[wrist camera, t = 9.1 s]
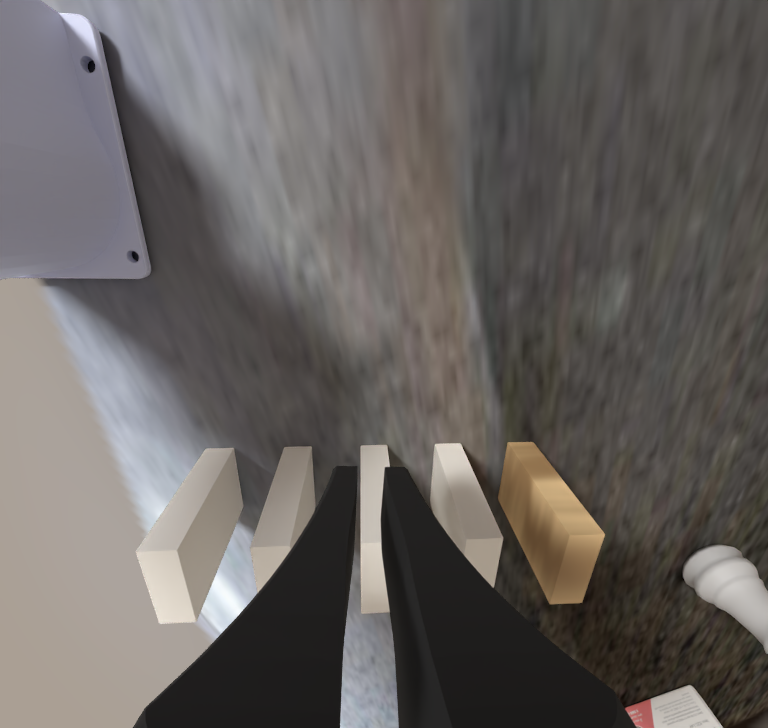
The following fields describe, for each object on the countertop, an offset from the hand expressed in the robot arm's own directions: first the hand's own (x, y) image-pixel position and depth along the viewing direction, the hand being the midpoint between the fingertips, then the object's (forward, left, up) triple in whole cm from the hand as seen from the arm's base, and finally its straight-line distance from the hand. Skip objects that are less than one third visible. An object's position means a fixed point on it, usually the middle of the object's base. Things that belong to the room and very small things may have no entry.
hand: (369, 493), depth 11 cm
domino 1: (+7, -8, -9) cm, 15 cm away
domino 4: (+7, +5, -9) cm, 13 cm away
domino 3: (+7, 0, -9) cm, 12 cm away
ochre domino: (+7, +10, -9) cm, 15 cm away
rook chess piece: (+16, +26, -10) cm, 32 cm away
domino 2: (+7, -4, -9) cm, 12 cm away
